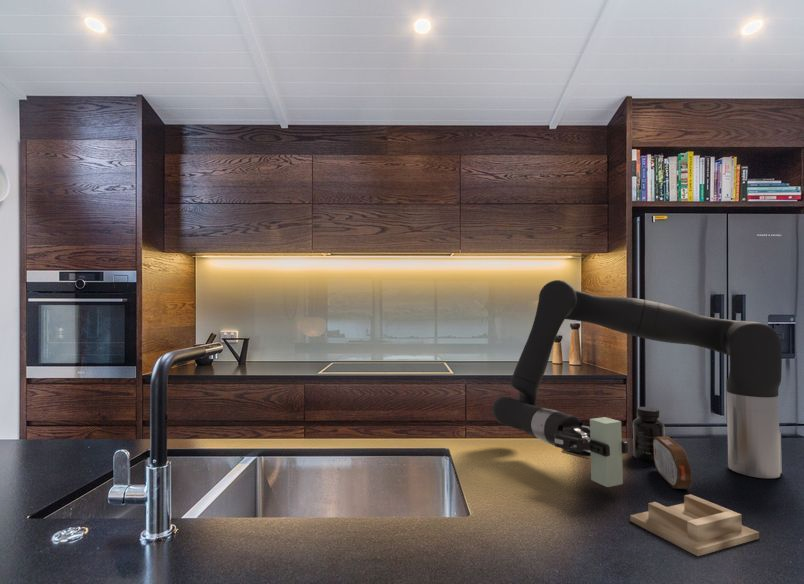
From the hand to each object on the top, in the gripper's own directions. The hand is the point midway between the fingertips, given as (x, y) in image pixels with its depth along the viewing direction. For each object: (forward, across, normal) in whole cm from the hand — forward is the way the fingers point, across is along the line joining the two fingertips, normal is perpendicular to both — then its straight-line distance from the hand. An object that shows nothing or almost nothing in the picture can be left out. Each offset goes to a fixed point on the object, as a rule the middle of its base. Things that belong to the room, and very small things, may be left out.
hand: (617, 449), depth 89 cm
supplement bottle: (-15, +26, +10) cm, 31 cm away
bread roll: (-26, +16, +10) cm, 32 cm away
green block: (-3, 0, +7) cm, 8 cm away
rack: (+13, +2, +10) cm, 16 cm away
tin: (-3, +18, +10) cm, 20 cm away
